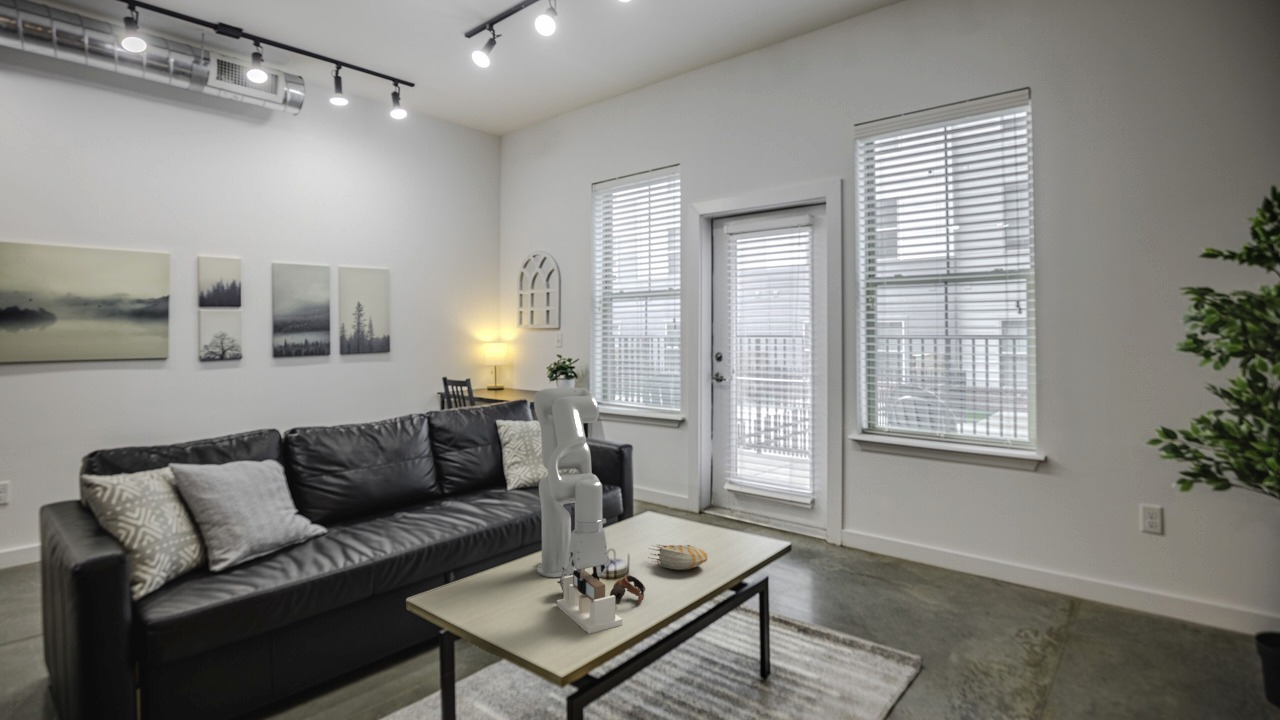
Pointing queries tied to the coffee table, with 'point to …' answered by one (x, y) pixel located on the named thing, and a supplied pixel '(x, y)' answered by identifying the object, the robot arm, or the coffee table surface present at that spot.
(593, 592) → the tall brown box
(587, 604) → the stand
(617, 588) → the brown curved ringed piece
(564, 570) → the wire frame polyhedron
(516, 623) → the coffee table surface
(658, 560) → the nautilus
